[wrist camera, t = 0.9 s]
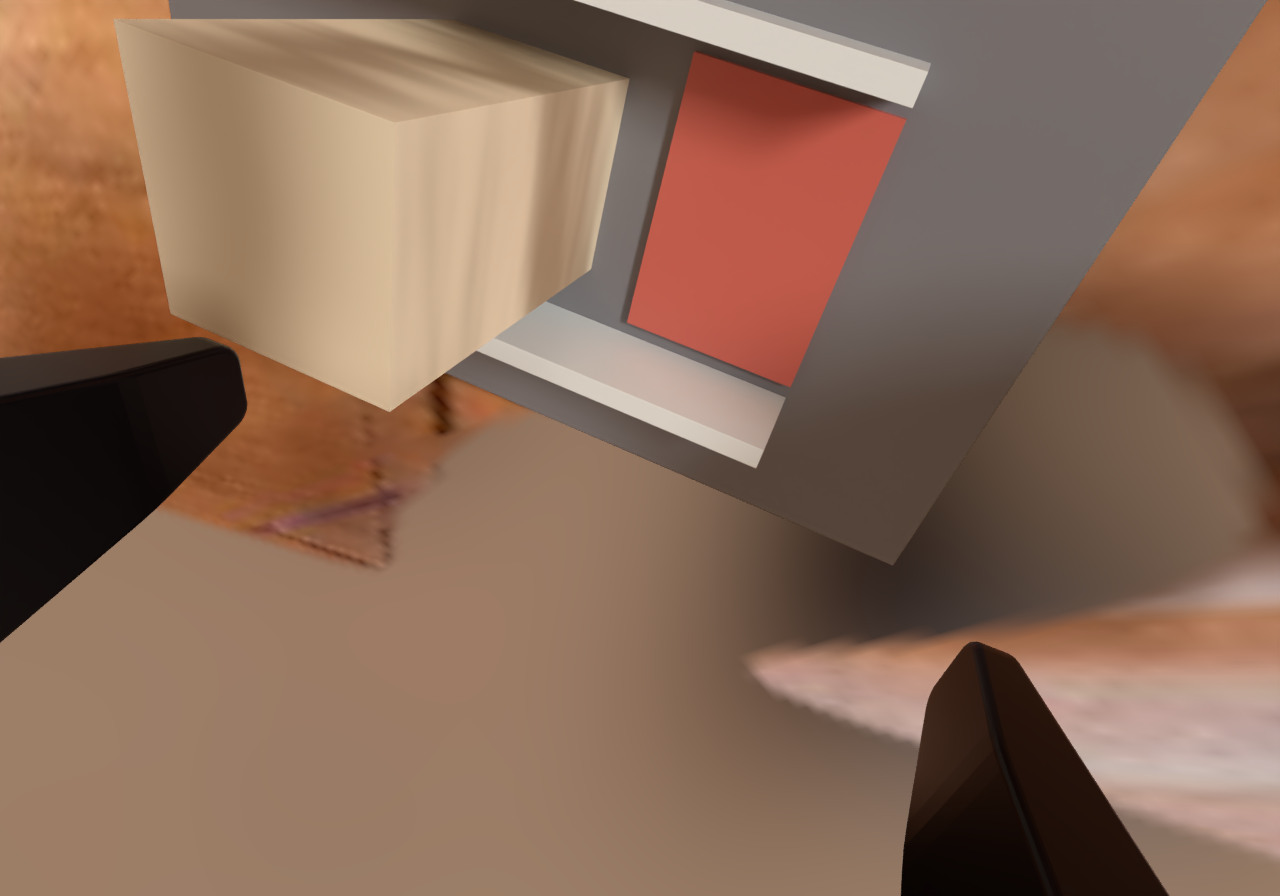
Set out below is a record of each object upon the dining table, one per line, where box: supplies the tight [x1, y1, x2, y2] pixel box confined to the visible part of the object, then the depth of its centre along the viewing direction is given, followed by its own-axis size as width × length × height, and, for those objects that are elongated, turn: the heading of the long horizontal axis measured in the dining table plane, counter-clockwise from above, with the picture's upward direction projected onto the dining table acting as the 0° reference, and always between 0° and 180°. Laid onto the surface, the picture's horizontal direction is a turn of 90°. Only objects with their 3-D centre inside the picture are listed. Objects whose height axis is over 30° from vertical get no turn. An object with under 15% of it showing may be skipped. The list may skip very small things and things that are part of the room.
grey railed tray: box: [169, 0, 1267, 565], centre depth 18 cm, size 26×16×4 cm, turn 75°
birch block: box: [113, 19, 629, 412], centre depth 15 cm, size 5×5×9 cm
